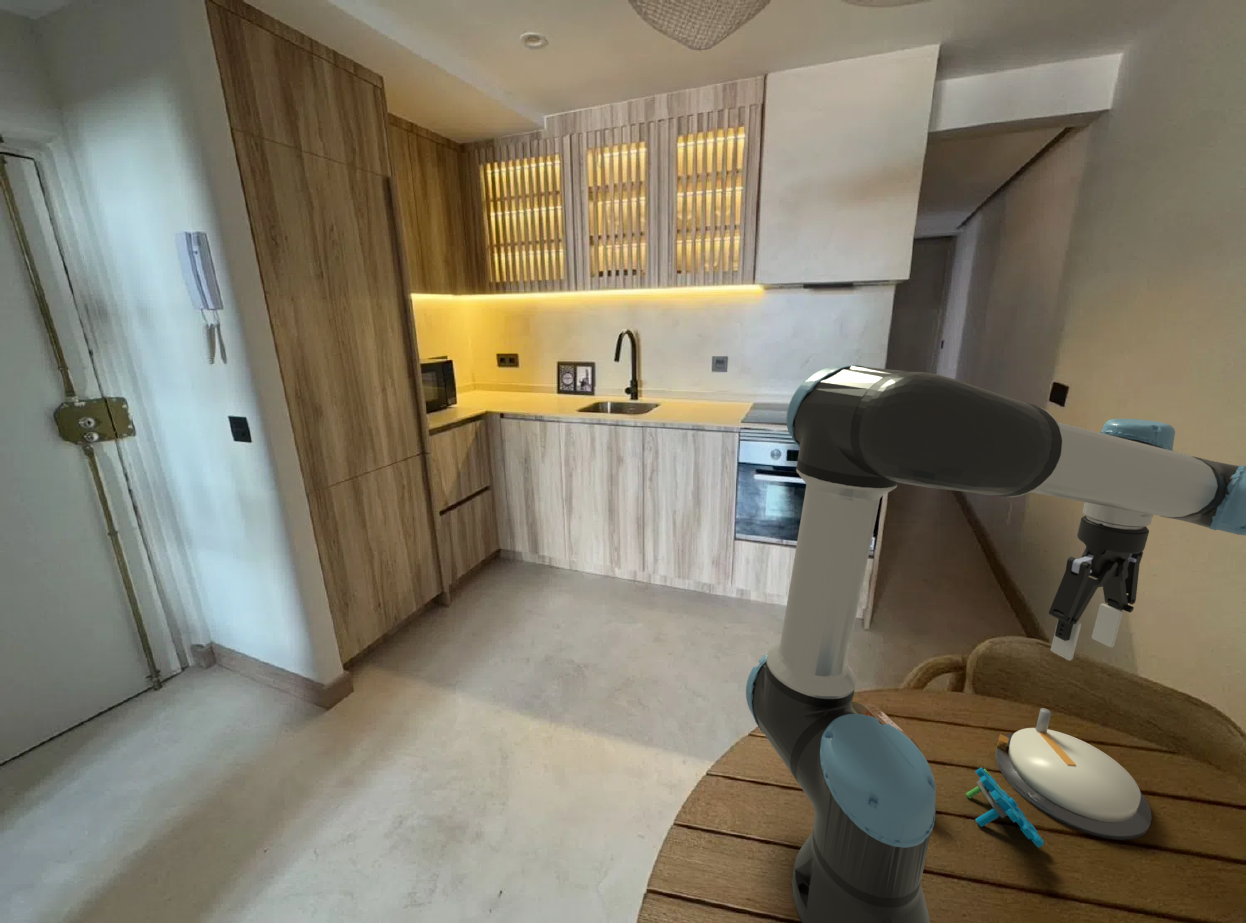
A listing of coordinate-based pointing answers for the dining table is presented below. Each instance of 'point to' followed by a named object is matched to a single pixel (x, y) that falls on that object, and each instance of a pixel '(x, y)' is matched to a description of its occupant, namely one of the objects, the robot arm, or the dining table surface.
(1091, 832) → the dial base
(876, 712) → the tin
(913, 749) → the robot arm
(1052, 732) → the dial
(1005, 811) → the gear
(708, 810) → the dining table surface
